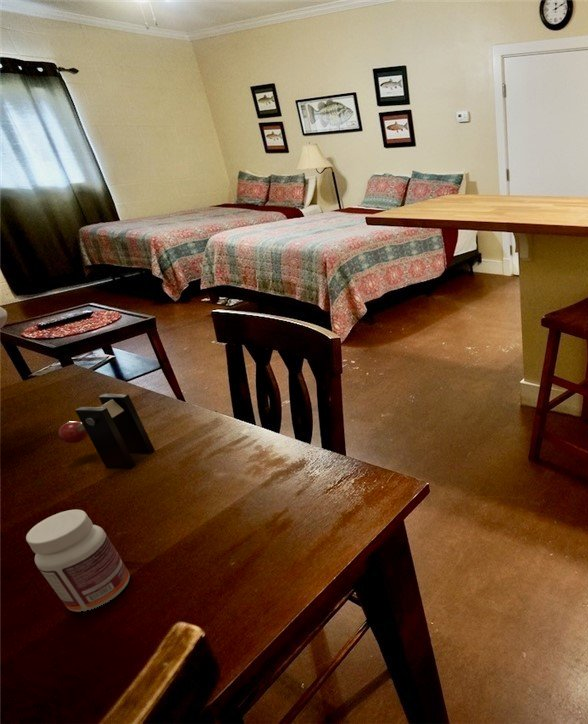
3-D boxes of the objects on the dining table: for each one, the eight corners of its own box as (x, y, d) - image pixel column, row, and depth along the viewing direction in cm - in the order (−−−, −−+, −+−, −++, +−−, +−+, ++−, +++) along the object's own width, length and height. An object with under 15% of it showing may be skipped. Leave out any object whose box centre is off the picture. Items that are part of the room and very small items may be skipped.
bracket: (91, 478, 78) (54, 413, 72) (127, 452, 84) (96, 390, 79) (142, 480, 77) (109, 415, 72) (174, 453, 84) (146, 391, 78)
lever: (66, 450, 78) (47, 434, 77) (86, 437, 81) (68, 422, 80) (111, 423, 75) (93, 405, 73) (131, 410, 78) (113, 394, 77)
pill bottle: (140, 566, 62) (103, 501, 57) (115, 607, 57) (72, 539, 52) (85, 576, 61) (42, 511, 56) (54, 619, 56) (4, 551, 50)
